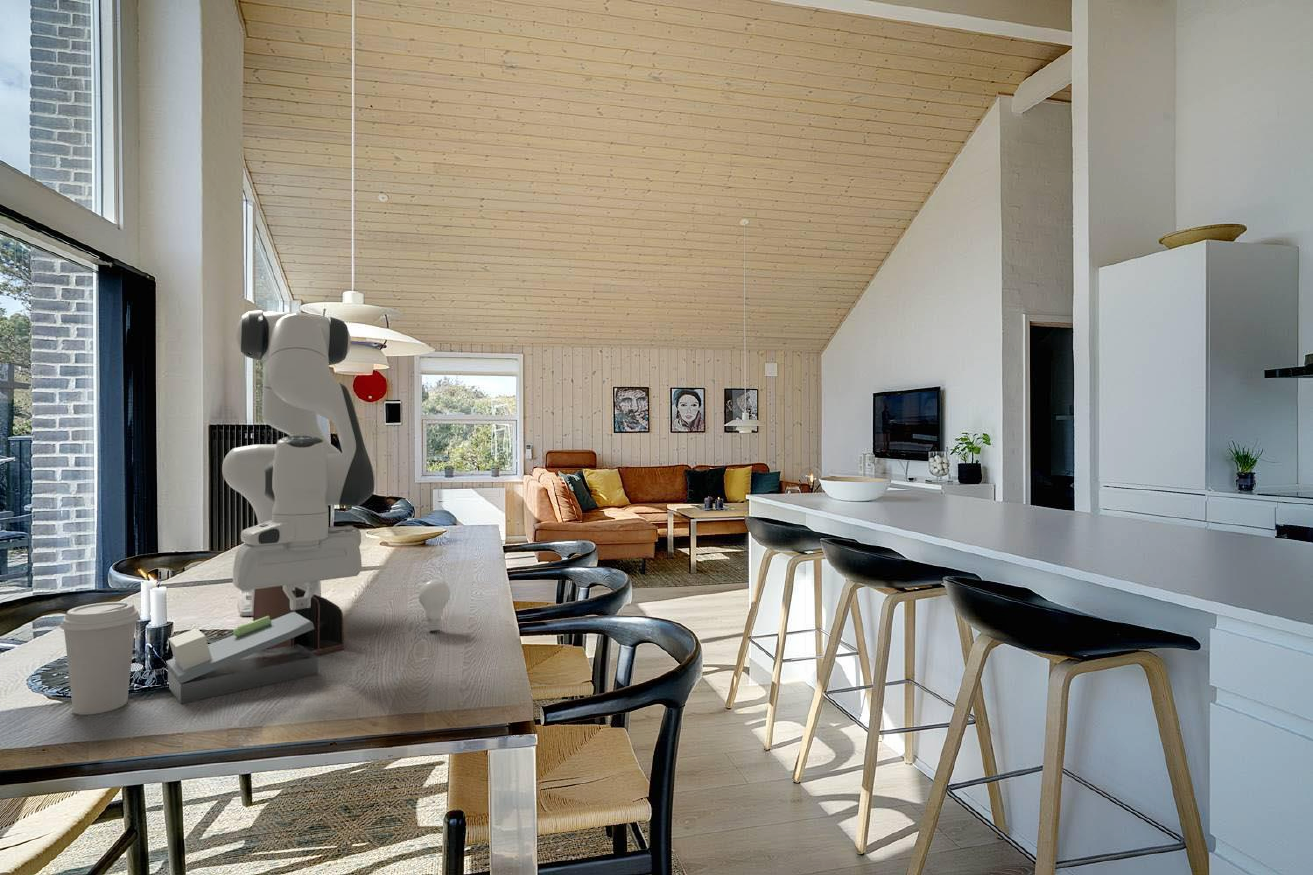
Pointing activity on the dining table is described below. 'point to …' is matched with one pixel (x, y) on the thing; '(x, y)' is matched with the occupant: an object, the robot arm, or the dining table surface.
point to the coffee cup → (99, 655)
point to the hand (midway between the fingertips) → (300, 608)
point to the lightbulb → (434, 601)
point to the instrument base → (248, 673)
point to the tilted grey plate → (231, 645)
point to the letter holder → (320, 613)
